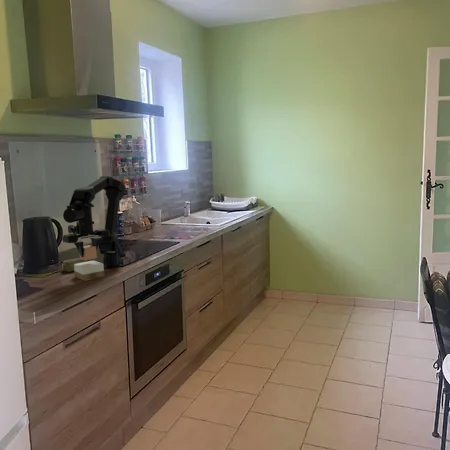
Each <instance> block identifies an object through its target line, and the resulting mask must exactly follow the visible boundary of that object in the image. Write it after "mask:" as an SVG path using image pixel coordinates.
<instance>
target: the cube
mask: <svg viewBox="0 0 450 450" xmlns="http://www.w3.org/2000/svg"><path fill="white" fill-rule="evenodd" d="M83 246H84V256H83V257H81V255H80V254H79V258H80V259H83V260H90V261H91V260H94V259H98V255H97V254H98V253H97V251H96V246H92V244H90V245H89V244H88V245H83Z"/></svg>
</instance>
